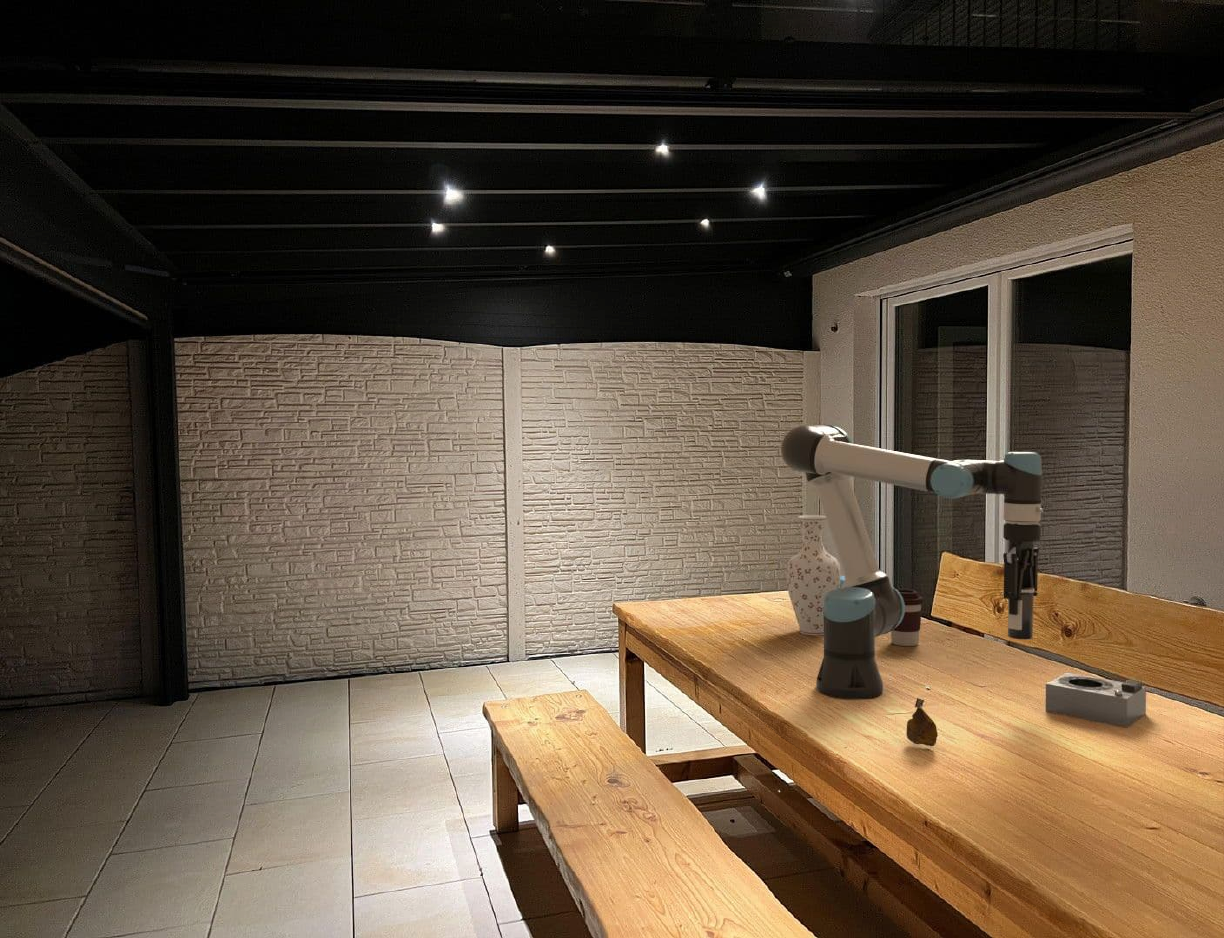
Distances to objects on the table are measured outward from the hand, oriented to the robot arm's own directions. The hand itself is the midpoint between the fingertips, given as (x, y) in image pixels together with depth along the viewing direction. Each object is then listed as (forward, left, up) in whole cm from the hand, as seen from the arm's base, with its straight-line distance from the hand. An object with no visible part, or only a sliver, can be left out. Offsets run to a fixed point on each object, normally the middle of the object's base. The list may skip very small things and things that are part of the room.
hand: (1020, 626), depth 203 cm
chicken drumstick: (-40, +3, -17) cm, 44 cm away
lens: (0, 0, -2) cm, 2 cm away
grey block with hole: (+4, -14, -17) cm, 23 cm away
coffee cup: (+33, +46, -17) cm, 59 cm away
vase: (+28, +73, -17) cm, 80 cm away
